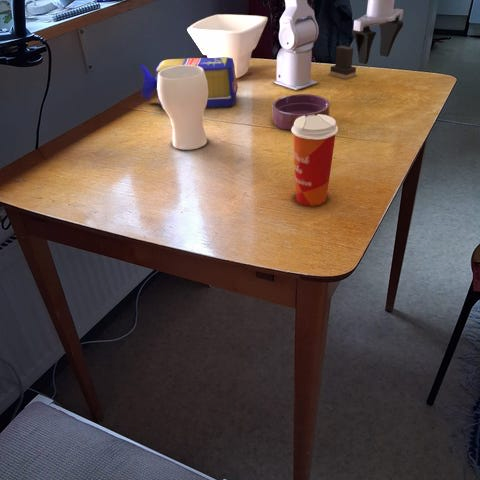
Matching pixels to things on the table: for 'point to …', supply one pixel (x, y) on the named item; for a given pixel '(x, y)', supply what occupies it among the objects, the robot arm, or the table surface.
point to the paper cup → (313, 157)
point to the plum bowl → (297, 109)
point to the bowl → (229, 37)
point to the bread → (216, 73)
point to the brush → (343, 63)
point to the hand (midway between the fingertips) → (373, 59)
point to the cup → (184, 103)
